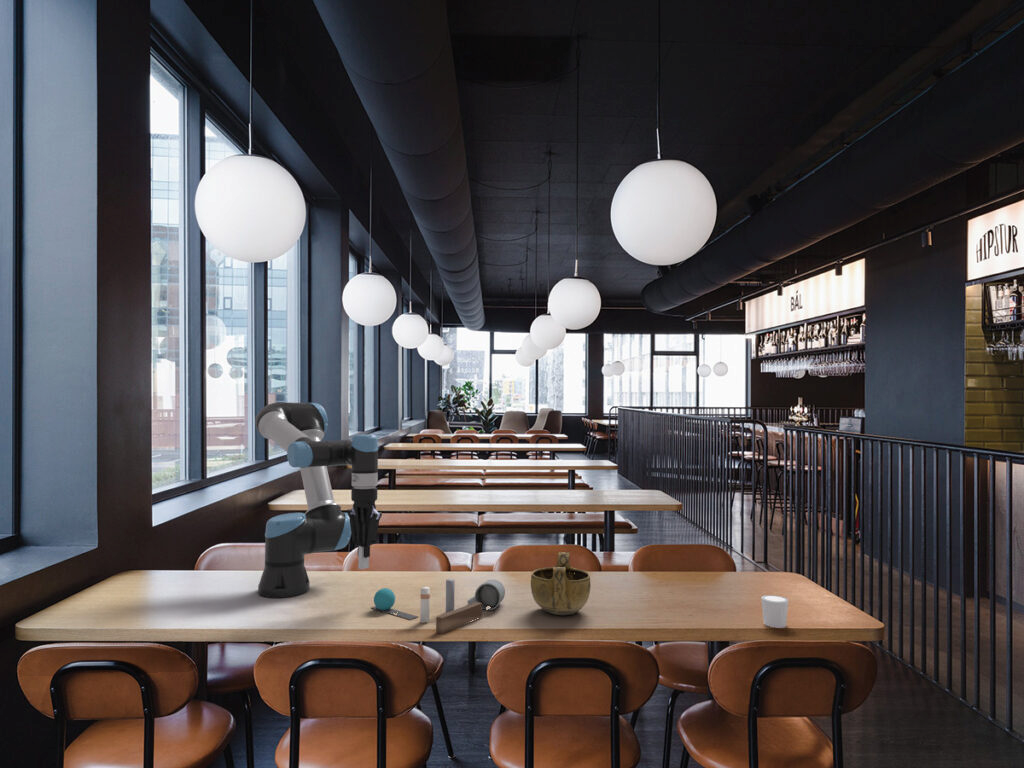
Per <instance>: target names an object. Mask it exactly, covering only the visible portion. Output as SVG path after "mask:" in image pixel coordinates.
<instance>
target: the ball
mask: <svg viewBox="0 0 1024 768" xmlns="http://www.w3.org/2000/svg"><path fill="white" fill-rule="evenodd" d="M373 603H374V607H375V606H376V607H377V608H378V609H380V610H388V609H392V607H393V606H394V605H395V603H396V595H395V593H394V591H392V590H391V589H390V588H389V587H388V588H387V587H386V588H380V589H378V590H377V591H376V592H375V594H374V596H373Z"/></svg>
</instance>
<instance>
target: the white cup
mask: <svg viewBox="0 0 1024 768" xmlns="http://www.w3.org/2000/svg"><path fill="white" fill-rule="evenodd" d="M760 599H761V609H762V619H763V624H764V625H765V626H767V627H769V626H770V628H774V627H775V629H777V628H778V629H784V628H786V627H787V619H788V608H789V599H788V598H786V597H784V596H780V595H776V594H775V595H774V594H773V595H772V594H767V595H762V596H761V598H760Z"/></svg>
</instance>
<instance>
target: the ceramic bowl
mask: <svg viewBox="0 0 1024 768" xmlns="http://www.w3.org/2000/svg"><path fill="white" fill-rule="evenodd" d="M557 554H558V555H557V561H556V565H555V566H550V567H549V566H548V567H543V568H537V569H534V570H532V572H531V575H530V590H531V594H532V598H533V599H534V600H533V601H534V602H535V603H536V604H537V606H539V607H540V609H543V610H544V611H546V612H547V613H550V614H551V615H555V616H569V615H574V614H575V613H578V612H579V611H580V610H582V609H583V607H584V606H585V605H586V604H587V602H588V601H589V597H590V593H591V575H590V573H589V572H588V571H586V570H583V569H579V568H574V567H573V566H571V564H570V563H571V562H570V561H571V560H570V558H571V557H570V554H571V553H570V552H562V551H561V552H558V553H557Z"/></svg>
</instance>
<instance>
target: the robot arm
mask: <svg viewBox="0 0 1024 768" xmlns="http://www.w3.org/2000/svg"><path fill="white" fill-rule="evenodd" d="M254 422H255V425H254V426H255V428H256V431H257V432H258V433H259V434H260V436H262V437H263V438H264V439H266V440H267V439H268V440H272V441H273V442H274V443H275V444H276V445H278V446H279V447H280V448H281V449H282V450H284V451H285V452H286V457H287V462H288V464H289V466H290V467H292V468H299V470H300V474H301V479H302V484H303V488H304V489H303V490H304V494H305V499H306V504H307V510H306V512H305V513H304V512H296V511H295V512H288V513H282V514H278V515H276V516H273V517H271V518H270V519H268V520H267V521H266V524H265V533H264V537H265V538H264V539H265V543H264V568H263V571H262V574H261V577H260V580H259V583H258V585H257V594H258V593H259V594H260V595H259V594H258V595H259V596H261V595H263V596H262V597H264V596H268V597H267V598H272V597H281V598H290V597H289V596H291V597H296V596H300V595H303V594H306V593H307V592H309V591H310V586H311V585H310V579H309V576H308V572H307V570H306V566H305V555H310V554H317V553H324V552H334V551H336V550H342V549H344V548H346V547H347V545H348V544H349V542H350V540H352V543H353V544H354V543H355V545H356V546H357V558H358V563H357V566H358V567H357V568H358V570H365V569H369V568H370V558H371V557H370V556H371V546H372V545H376V542H377V541H376V540H377V536H378V530H379V525H380V521H381V518H382V516H383V514H382V512H381V511H380V512H378V510H377V506H376V501H377V500H378V487H377V486H378V485H379V484H378V483H379V479H378V478H379V476H378V470H379V469H378V468H379V463H378V462H379V441H378V440H379V439H378V437H377V435H376V434H354V435H353V436H352V438H351V440H350V439H341V440H323V438H324V437H325V434H326V433H327V430H328V425H329V424H328V422H329V420H328V414H327V412H326V410H325V408H324V406H322V405H321V404H319V403H317V402H310V401H308V402H307V401H306V402H280V401H279V402H273V403H270V404H269V403H268V404H267V405H265V406H264V407H262V408H261V409H260V410H259V411H258V413H257V415H256V417H255V421H254ZM331 466H332V467H333V466H336V467H337V466H351V486H352V488H351V491H350V492H351V493H350V499H351V501H352V502H353V503H352V507H351V508H350V509H347V510H346V512H345V511H343V512H342V508H341V507H342V506H341V505H340V504H339V503H337V502H335V498H334V494H333V489H332V485H331V484H332V483H331V479H330V476H329V473H328V472H329V470H328V467H331ZM295 595H296V596H295Z"/></svg>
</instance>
